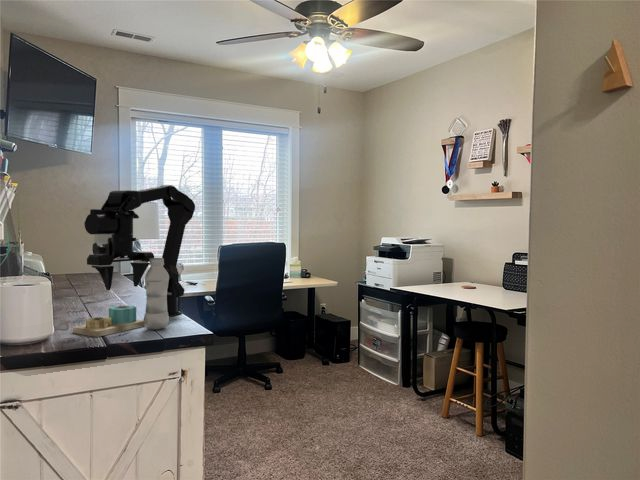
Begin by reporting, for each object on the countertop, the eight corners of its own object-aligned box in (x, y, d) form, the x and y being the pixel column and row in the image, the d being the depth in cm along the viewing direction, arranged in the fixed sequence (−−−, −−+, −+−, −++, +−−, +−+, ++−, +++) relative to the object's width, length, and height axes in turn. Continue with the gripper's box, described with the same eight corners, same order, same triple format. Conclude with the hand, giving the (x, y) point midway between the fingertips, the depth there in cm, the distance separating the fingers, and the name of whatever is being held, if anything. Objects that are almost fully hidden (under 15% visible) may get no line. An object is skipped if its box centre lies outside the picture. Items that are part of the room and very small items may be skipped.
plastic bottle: (143, 327, 130) (143, 257, 129) (168, 325, 132) (168, 257, 132) (144, 332, 124) (144, 259, 123) (170, 330, 126) (170, 259, 126)
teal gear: (124, 317, 136) (124, 304, 136) (141, 320, 132) (141, 306, 132) (103, 322, 129) (103, 308, 129) (120, 324, 126) (120, 310, 126)
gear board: (123, 321, 137) (123, 302, 137) (146, 325, 132) (146, 305, 132) (72, 332, 123) (72, 310, 123) (96, 337, 118) (96, 314, 118)
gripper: (130, 233, 143) (130, 282, 143) (73, 233, 126) (74, 289, 127) (155, 234, 137) (155, 285, 138) (100, 234, 121) (100, 293, 121)
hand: (122, 288), depth 131 cm, fingers open, 9 cm apart
